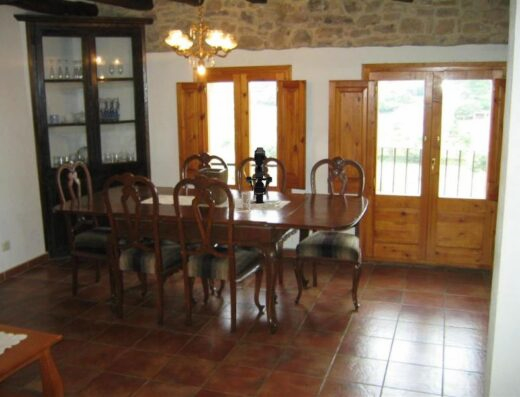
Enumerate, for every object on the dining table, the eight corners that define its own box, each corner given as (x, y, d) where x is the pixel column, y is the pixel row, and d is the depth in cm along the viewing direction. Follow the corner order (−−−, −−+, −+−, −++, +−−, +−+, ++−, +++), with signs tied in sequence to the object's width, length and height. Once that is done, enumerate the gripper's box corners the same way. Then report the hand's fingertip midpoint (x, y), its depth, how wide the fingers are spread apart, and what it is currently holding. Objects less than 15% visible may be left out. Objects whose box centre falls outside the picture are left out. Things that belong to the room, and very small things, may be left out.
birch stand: (239, 210, 397) (239, 192, 395) (253, 211, 394) (253, 193, 392) (235, 213, 387) (234, 195, 385) (248, 214, 384) (248, 196, 382)
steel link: (242, 208, 396) (242, 192, 393) (250, 209, 394) (250, 192, 392) (241, 209, 394) (241, 192, 392) (249, 209, 392) (249, 193, 390)
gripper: (245, 166, 393) (245, 188, 390) (272, 167, 393) (272, 188, 390) (246, 170, 404) (246, 191, 401) (272, 171, 404) (272, 192, 400)
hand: (259, 191), depth 398 cm, fingers open, 9 cm apart
